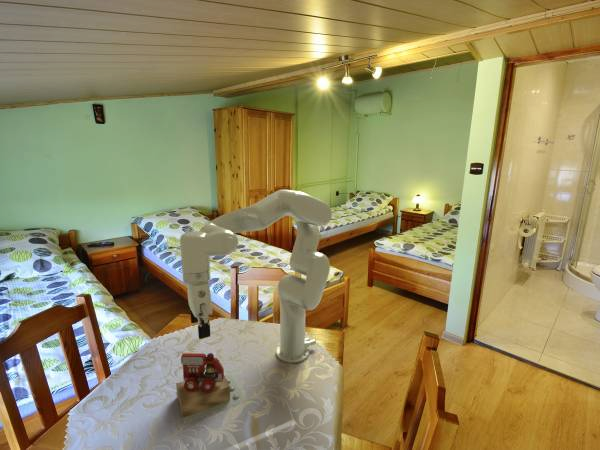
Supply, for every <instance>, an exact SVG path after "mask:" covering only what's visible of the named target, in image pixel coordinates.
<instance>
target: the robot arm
mask: <svg viewBox="0 0 600 450" xmlns="http://www.w3.org/2000/svg"><path fill="white" fill-rule="evenodd" d="M332 211H333V210H332V208H331V206H330V205H329V203H327V202H325V201H323V200H321V199H319V198H316V197H315V196H311V195H310V194H307V193H305V192H302V191H300V190H290V189H279V190H276V191H274V192H272V193H271V194H269V195H267V196H266V197H264V198H262V199H260V200H259V201H257V202H255V203H253V204H252V205H250V206H247V207H243V208H240V209H237V210H234V211H230V212H227V213H225V214H222V215H220V216H218V217H216V218H214V219H212V220H210V221H208V222H207V223H206V224H204V225H203V226H202V227H201V228H200V229H199V230H195V231H194V230H192V231H188V232H184V233H182V234H181V236H180V238H179V244H180V258H181V271H182V282H183V283H184V284H185V285H186V288H187V299H188V300H187V301H188V306H189V309H190V322H191V324H195V323H198V325H197V331H198V339H199V340H202V339H207V338H209V337H211V323H210V322H211V321H210V318H209V316H211V315H213V305H212V304H213V303H212V296H211V295H212V294H211V288H210V281H211V274H212V273H211V260H210V259H211V258H210V257H218V256H219V257H223V256H228V255H231V254H233V252H235V251H236V250H237V248H238V247H239V238H238V237H237V235H236V234H237V233H243V232H257V231H263V230H265V229H267V228H268V227H269V226H271V225H273V224H275V222H277V221H278V220H280V219H282V218H284V217H286V216H287V217H292V218H293V220H294V222H295V225H296V231H297V233H296V237H295V241H294V245H293V249H292V251H291V254H290V255H291V256H290V259H289V267H290V269H291V270H292V271H294V272H296V273H297V274H300V275H302V276H305V278H303V277H301V276H298V275H296V274H295V275H294V274H286V275H284V276H282V277H281V278H280V279H279V281H278V284H277V295H278V301H279V309H280V310H279V311H280V312H279V316H280V317H279V326H280V327H279V329H280V330H279V331H280V332H279V336H280V338H279V339H280V340H279V346H277V348H276V350H275V353H276V354H275V355H276V357H277V358H278V359H279V360H280V361H282V362H284V363H288V364H297V363H301V362H303V361H305V360H307V358H308V357H309V353H310V351H309V347H310V346H314V345H316V340H315V339H311V340H310V338H309V337H306V317H307V316H306V315H307V314H306V311H312V310H314V309H316V308H317V307H318V305H319V304H320V302H321V300H322V297H323V295H324V291H325V287H326V285H327V281H328V278H329V274H330V270H331V269H330V268H331V264H330V260H329V258H328V256H327V255H326V254H324V253H323V252H319V251H317V250H318V246H319V242H320V237H321V235H320V229H319V227H325V226H326V225H328V224H329V223H330V222H331V220H332V216H333V212H332Z"/></svg>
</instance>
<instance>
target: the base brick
mask: <svg viewBox="0 0 600 450" xmlns="http://www.w3.org/2000/svg"><path fill="white" fill-rule="evenodd" d="M225 376H226V375H224V378H223V381H222V382H215V383H216V386H215V389H214V390H213V391H212V392H205V391H203V390H202V388H201V384H202V382H199V385H198V388H197V390H196V391H194V392H188V391H187V390H185V388H184V383H185V381H184V380H183V381H180V382H176V383H175V386H176V392H177V395H176V398H177V401H178V402H177V403H178V405H179V409H180V414H181V416H182V417H181V418H182V419H183V418H184V417H186V416H189V415H192V414H195V413H197V412H200V411H203V410H205V409H208V408H211V407H214V406H216V405H219V404H222V403H224V402H227V401H230V386H229V384H228V382H227V380H226V378H225Z"/></svg>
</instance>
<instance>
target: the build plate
mask: <svg viewBox="0 0 600 450" xmlns="http://www.w3.org/2000/svg"><path fill="white" fill-rule="evenodd" d="M224 376H225V378H226V380H227V382H228V384H229V386H230V401H227V402H224V403H222V404H219V405H216V406H214V407H211V408H208V409H205V410H203V411H200V412H197V413H195V414H192V415H189V416H186V417H184V418H183V417H182V421H183V424H184V425H186V424H189V423H191V422H195V421H196V420H200V419H202V418H205V417H208V416H210V415H212V414H215V413H218V412H221V411H223V410H226V409H228V408H232V407H234V406H236V405H239V404H242V403H244V402H246V400H245V397H244V396H243V394H242V391H241V390H240V388H239V386H238V384H237V382H236V380H235V379H234V377H233V375H232V374H228V375H224ZM175 395H176V396H177V391H176V392H175Z"/></svg>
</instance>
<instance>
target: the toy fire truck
mask: <svg viewBox="0 0 600 450" xmlns="http://www.w3.org/2000/svg"><path fill="white" fill-rule="evenodd" d="M180 364H181V365H182V374H183V376H182V377H183V378H182V379H183V381H185V383H184V388H185V390H187V391H188V392H194V391H196V390H197V388H198V385H199V382H202V384H201V388H202V390H203V391H205V392H212V391H213V390H214V389H215V386H216V383H215V382H222V381H223V378H224V376H225V373H224V372H225V369H224V367H223V365H222V364H221V362H220V360H219V359H218V358H217V357H215V355H214V353H212V352H210V353H208V354H207V355H206V354H205V353H195V352H194V353H193V352H191V353H187V352H184V353H183V354H181V357H180Z"/></svg>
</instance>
